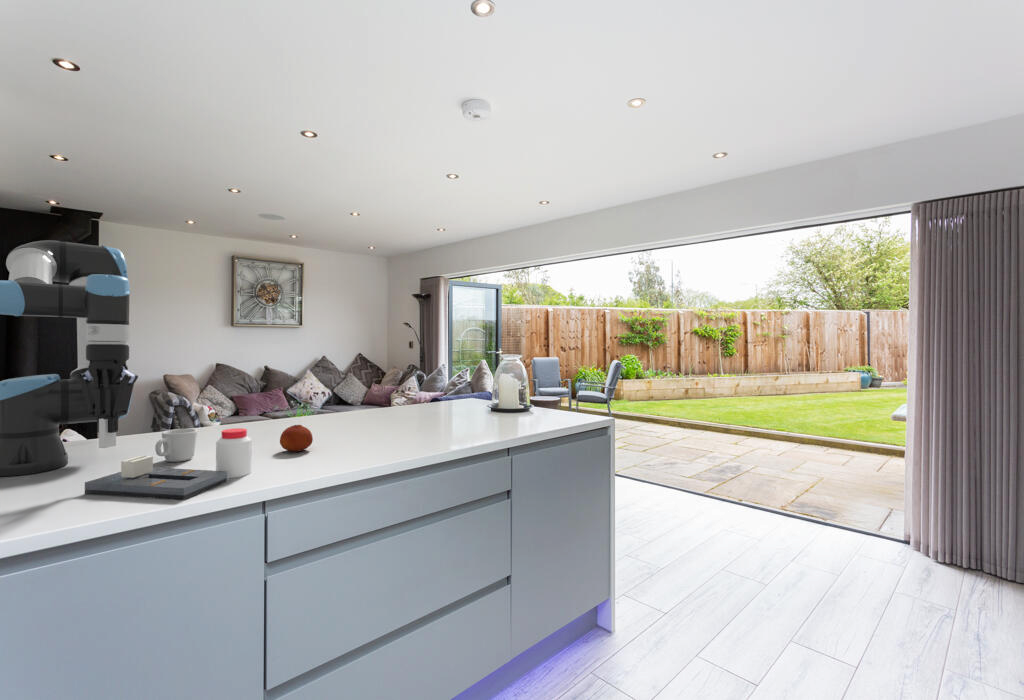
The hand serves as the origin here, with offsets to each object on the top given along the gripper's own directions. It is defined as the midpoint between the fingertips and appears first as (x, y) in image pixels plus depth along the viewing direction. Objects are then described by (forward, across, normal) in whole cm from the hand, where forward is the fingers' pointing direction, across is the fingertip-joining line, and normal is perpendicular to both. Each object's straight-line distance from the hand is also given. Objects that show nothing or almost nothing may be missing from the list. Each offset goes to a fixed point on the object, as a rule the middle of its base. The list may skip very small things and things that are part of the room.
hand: (107, 446), depth 108 cm
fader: (+8, +7, 0) cm, 10 cm away
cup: (+9, -2, +21) cm, 23 cm away
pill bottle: (+9, +21, +13) cm, 27 cm away
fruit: (+9, +23, +38) cm, 46 cm away
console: (+9, +13, 0) cm, 15 cm away
